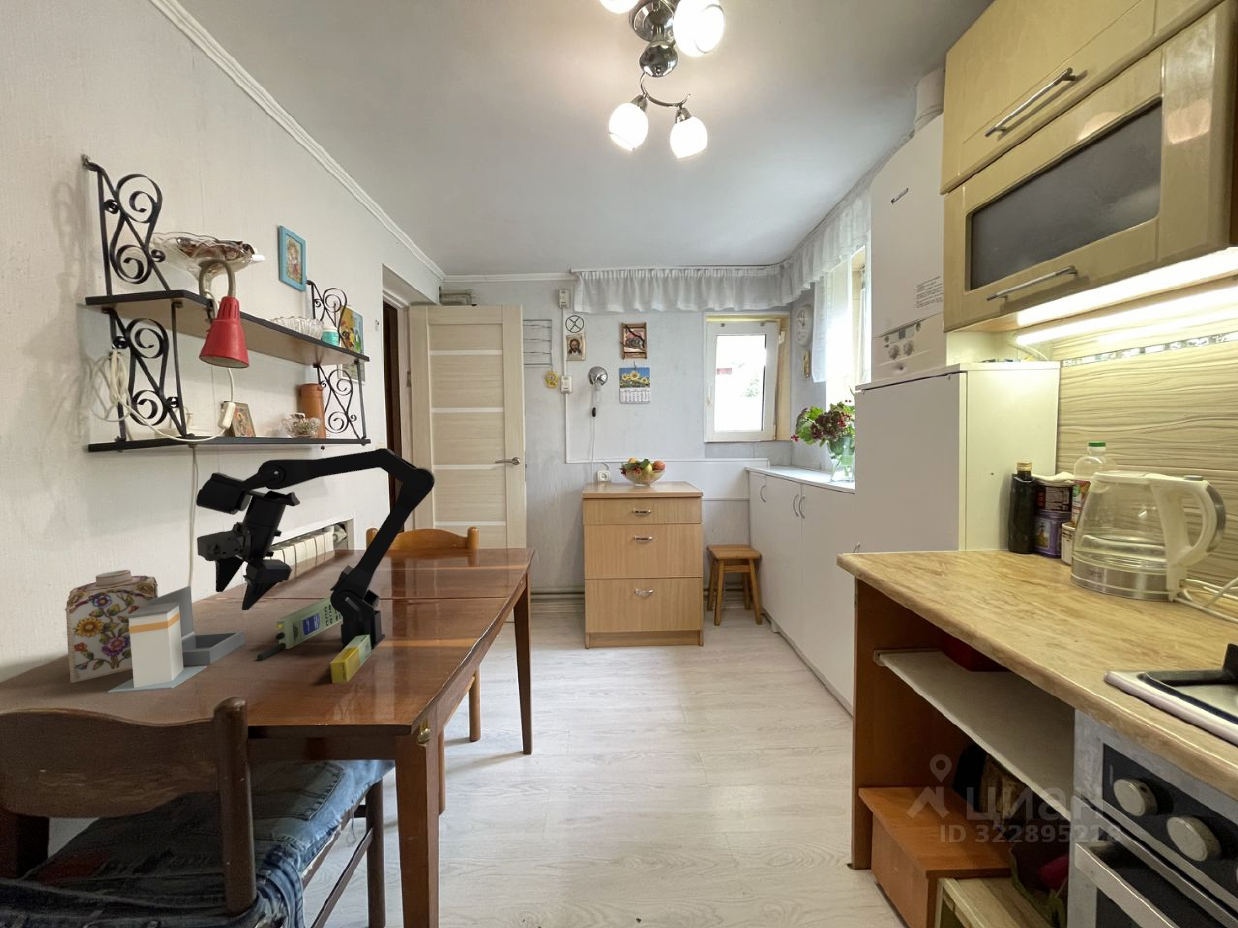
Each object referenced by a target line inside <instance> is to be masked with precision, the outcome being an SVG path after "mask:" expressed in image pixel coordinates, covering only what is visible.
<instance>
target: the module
mask: <svg viewBox="0 0 1238 928" xmlns="http://www.w3.org/2000/svg"><path fill="white" fill-rule="evenodd" d="M179 605H180V602H174V603H167V604H159V605H151V606H143V607H141V608H139V609H137V610H136V611H134V612H133V613H131V614H129V615H128V618H129V634H130V641H131V654H132V667H133V669H132V676H133V677H132V678H133V679H134V688H136V687H142V686H147V685H153V684H158V683H164V682H170V681H173V680H174V679H175V678H176V677H177V675H178V674H179V673H180V672H181V671H182V670H183V667H184V666H183V656H182V642H181V628H180V612H179Z"/></svg>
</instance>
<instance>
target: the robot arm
mask: <svg viewBox="0 0 1238 928" xmlns="http://www.w3.org/2000/svg"><path fill="white" fill-rule="evenodd" d="M378 468H379V469H382V470H384V471H385V472H386V473H387V474H389V475H390V476H391V477H393V478H394V479H396V480H398V482H400V483H401V487H400V489H399V491H398V494H397V497H396V500H395V503H394V506H393V507H392V508H391V510H390V512H389V513H388V514H387V516H386V518H385V519H384V522H383V523H382V525H380V528H379V529H378V531H377V532H376V533H375V535H374V537H373V538H372V540H371V542H370V544H369V545H368V546H367V549H365V551H364V553H363V554H362V557H361V558H360V560H359V561H358V562H357V564H356V565H355V566H354V567H351V566H350V565H349V564H348V565H346V566H345V567H344V569H342V571H341V572H340V574H339V576H338V580H337V581H336V582H335V583H334V584H333V585H332V586H331V588H330V589H329V591H331V592H332V593H331V594H330V596H331V597H330V602H331V605H332V607H333V608H334V609H335V610H336V611H338V612H340V613H341V615H342V617H343V620H342V623H341V624H340V636H341V638H340V639H341V645H342V646H341V647H340V649H339V650H340V652H341V651H342V650H343V649H344V648H345V647H346V646H347V645H348V644H349V643H350V642H351V641H352V640H353V639H354V638H355V637H356V636H359V635H366V634H370V641H371V650H372V649H375V648H376V647H377V646H378V645H379V644H380V643H381V641H383V640H384V639H385V638H386V633H383V630H382V629H383V628H382V612H381V611H382V610H377V607H378V605H379V602H380V599H381V597H380V596H379V595H378V594H377V593H375V592H374V591H372V590H371V589H370V587H371V585H372V582H373V580H374V577H375V574H376V571H377V569H378V567H379V565H380V563H381V562H382V561H383V559H384V557H385V555H386V554H387V552H388V550H389V549H390V547H391V546H392V545H393V542H394V541H395V540H396V538H397V536H398V534H399V533H400V532H401V530H402V528H403V527H404V525H405V523H406V521H407V520H408V519H409V517H410V515H411V514H412V513H413V511H414V510H415V509H416V508H417V507H418V506H419V505H420V504H421V503H422V501H423V500H424V499H425V498H426V497H427V496H428V494H429V493H430V492H431V491H432V490H433V488H434V487H435V484H436V478H435V475H434V472H433V471H432V470H430V469H429V468H427V467H421V466H418V467H417V466H416V465H415V464H413V463H411V462H409V461H408V460H406V459H404V458H402V457H401V456H399V455H398V454H396V453H394V451H392V450H391V449H390V448H387V447H385V448H383V447H381V448H378V449H374V450H370V451H369V450H368V451H361V452H356V453H349V454H342V455H335V456H329V457H323V458H315V459H314V458H313V459H312V458H311V459H310V458H307V459H306V458H279V459H278V458H277V459H270V460H266V461H264V462H263V463H262V464H261V465H260V466H259V467H258V470H257V472H256V473H254V474H252V475H251V476H249V477H248V478H246V479H241V478H237V477H232V476H229V475H228V474H225V473H222V472H212V473H211V475H210V478H209V479H208V480H206V482H205V483H204V484H203V485H202V487H201V488H200V489H199V490H198V492H197V496H196V498H195V501H196V506H197V507H200V508H204V509H207V510H212V511H216V512H219V513H224V514H228V515H232V516H234V515H236V514H238V513H239V512H244V511H245V510H246V509H247V510H246V511H245V515H244V517H243V518H242V521H236V523H234V524H233V527H232V529H231V530H227V531H219V532H218V531H217V532H214V533H209V534H205V535H200V536H198V537H197V538H196V543H197V544H196V546H197V547H196V548H197V556H200V557H202V558H204V560H205V561H207V562H214V563H215V565H214V566H215V592H216V593H223V592H224V591H225V590H226V589H227V587H228V586H229V585H230V583H231V582H232V580H233V578H234V577H235V576H236V574H237V573H238V571H239V570H240V568H241V567H242V566H243V564H244V562H245V563H246V567H245V574H242V577H243V579H244V580H245V582H246V583H247V585H246V587H245V593H244V594H243V595H244V596H243V600H242V603H241V605H242V606H241V610H242V611H249V610H250V609H251V608H252V607H253V606H254V605H255V604H256V603H257V602H258V601H259V600H260V599H261V598H263V596H264V595H266V594H267V593H268V592H269V591H270V590H272V588H274V587H275V586H276V585H277V584H280V583H283V582H284V581H289V579H290V577H291V574H292V572H293V569H292V568H291V566H290V565H289V564H288V563H286V562H284V561H282V560H281V559H280V558H279V559H274V558H273V556H274V555H275V551H273V550H271V547H272V544H273V542H274V539H275V537H276V538H280V537H281V535H282V533H283V531H281V530H279V526H280V524H281V522H282V518H283V515H284V513H285V510H286V507H287V506H289V507H296V506H298V505H300V504H301V501H300V500H299V499H298V497H297V496H296V493H295V491H291V492H289V493H286V494H285V493H283V492H279V491H277V490H282V489H287V488H291V487H294V486H297V485H300V484H302V483H303V484H304V483H306V482H309V481H313V480H315V479H319V478H321V477H327V476H329V477H330V476H335V475H339V474H347V473H352V472H359V471H364V470H366V471H367V470H371V469H378ZM262 488H263V489H264V488H266V489H268V490H267V492H265V493H264V492H260V491H257V490H259V489H262ZM269 558H270V559H269Z"/></svg>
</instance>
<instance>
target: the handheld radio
mask: <svg viewBox="0 0 1238 928" xmlns="http://www.w3.org/2000/svg"><path fill="white" fill-rule="evenodd" d="M330 597H331V595H329V596H327V597H325V598H323V599H319V600H318V601H315V602H313V603H311V604H309V605H307V606H304V607H303V608H300V609H297V610H296V611H293V612H291V613H289V614H287V615H284V616H282V617H280V618H278V619H276V620H275V621H274V622H275V623H277V625H276V626H275V629H276V630H277V634H276V635H275V639H276V640H277V641H278V644H277V645H275V646H273V647H272V648H271V647H270V648H269V649H267V650H265V651H263V652H261V653H259V654H258V655H257V656H256V658H257V661H258V662H262V661H263V660H265V659H267V658H269V657H271V656H273V655H276V654H277V653H278V652H280V651H282V650H287V649H289V650H290V649H291V648H294V647H295V646H298V645H300V644H301V643H303V642H305V641H307V640H309V639H311V638H312V637H314V636H316V635H318V634H320V633H322V632H324V631H326V630H327V629H330V628H331V627H333V626H335V625H337V624H338V623H340V622H343V617H342V615H341V613H340V612H338V611H336V610H335V609H334V608H333V607H332V605H331V602H330Z"/></svg>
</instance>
